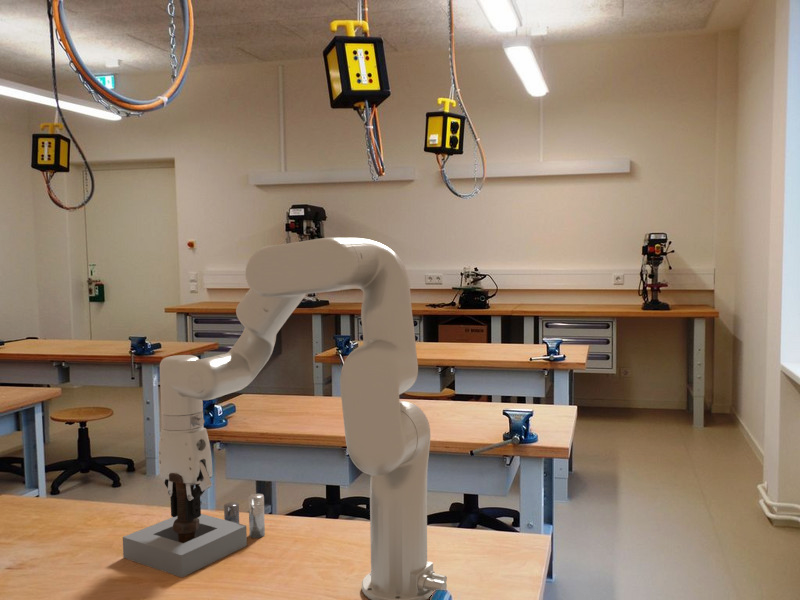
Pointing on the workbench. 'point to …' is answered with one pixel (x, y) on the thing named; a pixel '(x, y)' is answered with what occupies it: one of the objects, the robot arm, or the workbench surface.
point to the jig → (184, 545)
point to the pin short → (231, 512)
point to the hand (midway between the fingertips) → (186, 515)
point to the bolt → (183, 512)
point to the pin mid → (256, 515)
